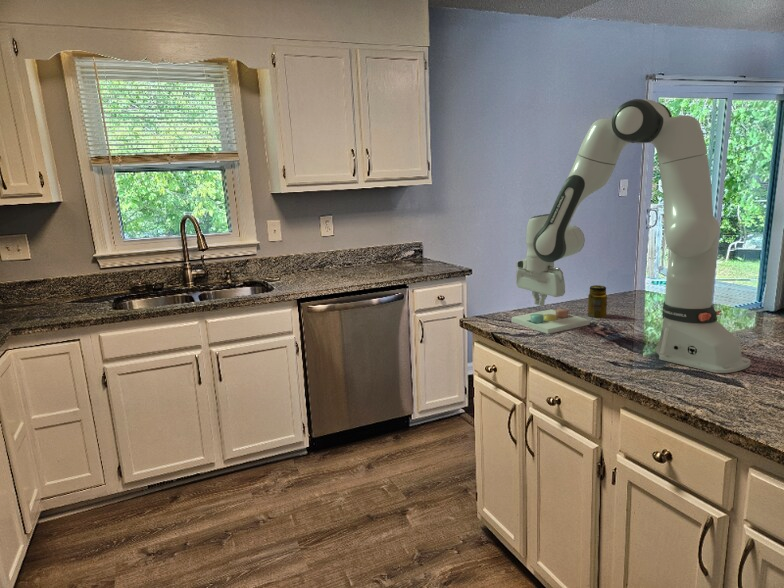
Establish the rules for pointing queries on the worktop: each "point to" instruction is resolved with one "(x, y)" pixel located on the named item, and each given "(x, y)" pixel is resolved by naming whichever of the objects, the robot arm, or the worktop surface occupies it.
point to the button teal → (537, 318)
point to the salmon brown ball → (562, 313)
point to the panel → (551, 322)
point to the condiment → (597, 302)
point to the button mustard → (549, 317)
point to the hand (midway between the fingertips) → (539, 305)
